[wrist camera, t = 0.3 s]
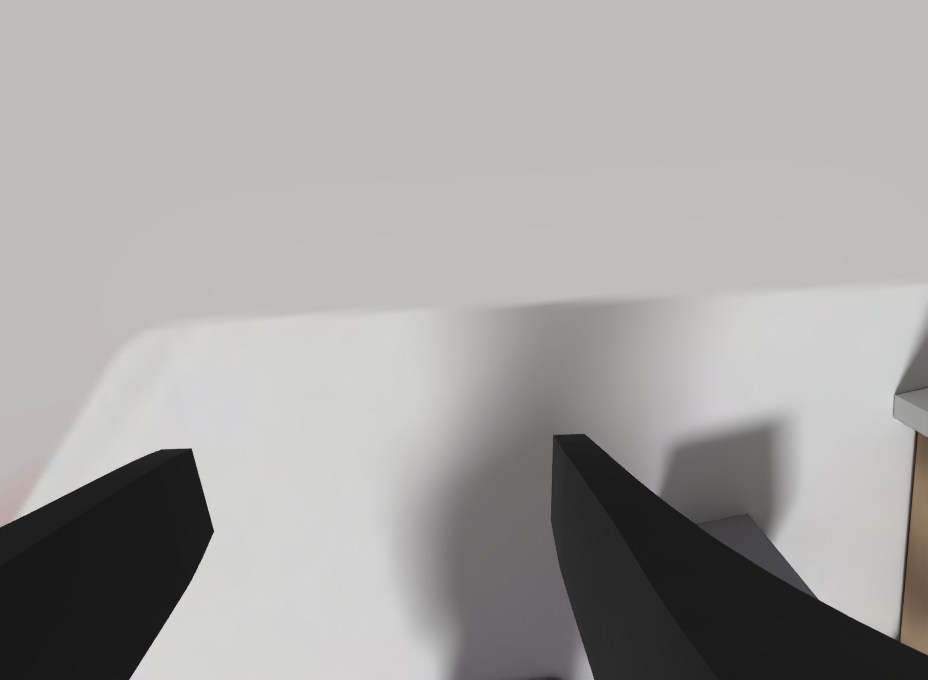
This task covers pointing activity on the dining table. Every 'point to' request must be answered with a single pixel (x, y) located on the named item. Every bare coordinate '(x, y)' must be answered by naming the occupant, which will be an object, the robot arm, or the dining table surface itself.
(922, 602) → the door
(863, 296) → the dining table surface
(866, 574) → the dining table surface
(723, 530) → the block
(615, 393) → the dining table surface
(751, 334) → the dining table surface
